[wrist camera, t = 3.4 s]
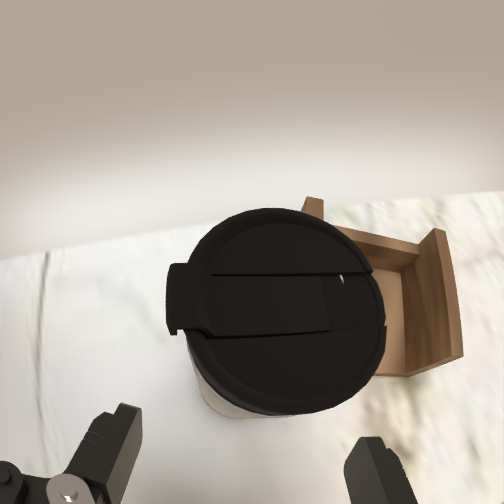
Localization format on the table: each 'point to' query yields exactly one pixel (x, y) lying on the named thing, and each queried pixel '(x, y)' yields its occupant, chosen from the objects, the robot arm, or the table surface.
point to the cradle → (411, 297)
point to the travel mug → (277, 315)
